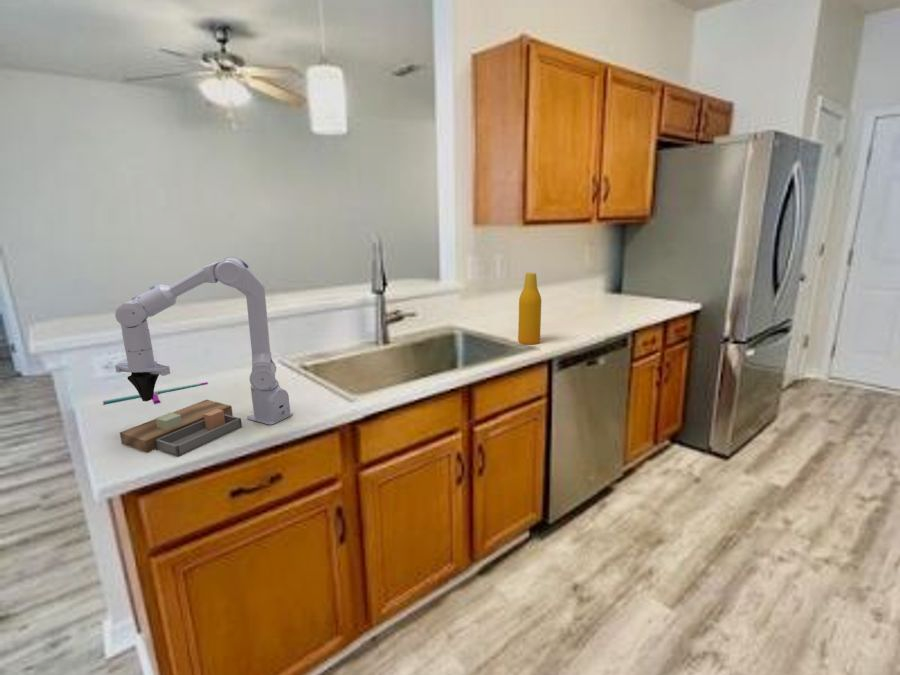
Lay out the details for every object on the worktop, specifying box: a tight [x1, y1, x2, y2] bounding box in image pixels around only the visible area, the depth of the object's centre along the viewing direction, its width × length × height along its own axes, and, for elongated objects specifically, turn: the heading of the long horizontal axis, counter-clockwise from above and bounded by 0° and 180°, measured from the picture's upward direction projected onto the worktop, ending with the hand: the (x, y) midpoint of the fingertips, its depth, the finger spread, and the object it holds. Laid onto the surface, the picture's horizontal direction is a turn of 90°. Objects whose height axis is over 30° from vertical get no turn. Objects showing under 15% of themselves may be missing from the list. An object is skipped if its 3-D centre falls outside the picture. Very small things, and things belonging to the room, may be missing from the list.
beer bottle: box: [517, 272, 542, 346], centre depth 205 cm, size 9×9×29 cm
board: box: [119, 399, 234, 454], centre depth 130 cm, size 10×24×3 cm, turn 152°
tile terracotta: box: [204, 409, 225, 430], centre depth 130 cm, size 4×4×2 cm
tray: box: [155, 414, 243, 458], centre depth 124 cm, size 8×18×2 cm, turn 152°
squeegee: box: [102, 381, 209, 406], centre depth 152 cm, size 29×2×10 cm
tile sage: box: [155, 411, 182, 430], centre depth 124 cm, size 4×4×2 cm
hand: (147, 399), depth 127 cm, fingers closed
